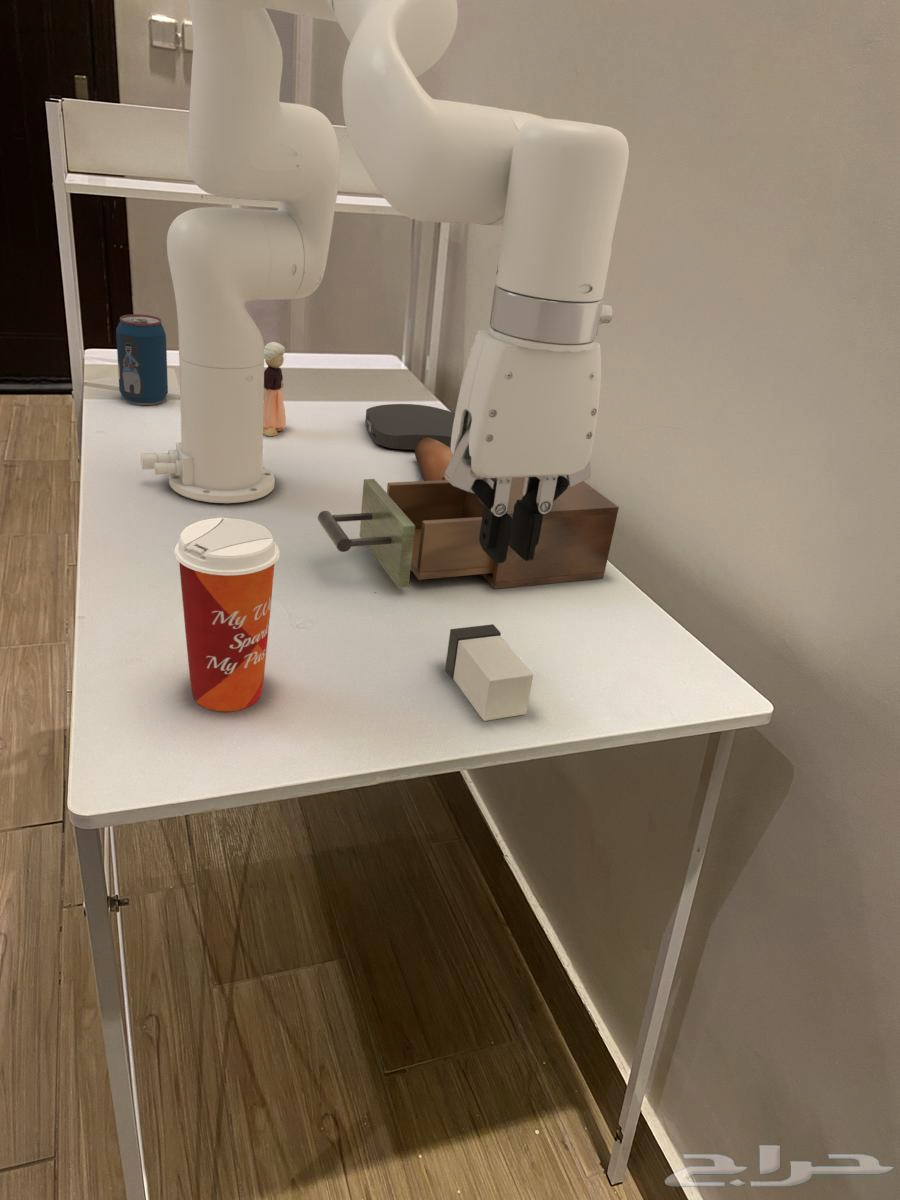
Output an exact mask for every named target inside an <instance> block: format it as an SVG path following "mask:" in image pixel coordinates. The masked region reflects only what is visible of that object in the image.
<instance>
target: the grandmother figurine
mask: <svg viewBox="0 0 900 1200" xmlns="http://www.w3.org/2000/svg"><path fill="white" fill-rule="evenodd" d="M285 353H286V348H285V346H284V345H282V344H281V343H279V342H277V341H270V342H268V343H267V344H266V345H264V363H265V364H266V365H267V367H266V368H265V369H264V402H263V436H268V437H275V436H278V432H281V431H283V430H284V428H285V427H286V426H287V421H286V409H285V403H284V395H283V390H282V389H283V388H284V376H283V371H282V368H281V366H283V364H284V360H285V358H284V355H285Z"/></svg>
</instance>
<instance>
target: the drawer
mask: <svg viewBox="0 0 900 1200" xmlns="http://www.w3.org/2000/svg"><path fill="white" fill-rule="evenodd" d="M483 508H484V505H483V504H482V503H481V502H480V501H479V499H478V498H477V497H476V496H475V495H474V494H473V493H471V492H468V491H465V490H462V489H460V488H457V487H455V486H453V485H451V484H450V483H449V482H448V481H447V480H435V481H424V480H416V481H415V480H413V481H394V482H391V481H390V482H387V488H386V491H385V490H384V488H383V487H382V486H381V485H380V484H379V483H378V481H377V480H376V479H375V478H364V479H363V484H362V500H361V509H360V510H361V512H360V513H359V512H358V513H343V514H342V513H341V514H332V513H331V512H330V511H328V510H322V511H320V512H319V513H318V515H317V521H318V523H319V524H320V525H321V527H322V529H323V530H324V531H325V533H326V534H327V536H328V538H329V539H330V540H331V542H332V543H333V545H334V546H335V548H336V549H337V550H338V551H339V552H340V553H346V552H348V551H349V550H350V549H351V548H353V547H365V546H366V547H367V548H368V550H369V551H370V553H371V554H372V555H373V556H374V557H375V559H376V560H377V562H378V563H379V564H380V566H381V567H382V568H383V570H384V571H385V572H386V574H387V576H388V577H389V578H390V579H391V580H392V582H393V583H394V584H395V586H396V587H397V588H398V589H399V588H408V587H409V586H410V580H411V579H410V577H411V572H412V573H413V574H414V576H415V577H416V578H417V580H418V581H419V580H430V579H431V580H432V579H442V578H453V577H454V578H455V577H464V576H465V577H466V576H475V575H481V574H488V573H493V572H494V565H495V562H494V561H493V560H492V559H491V557H490V556H489V555H488V554H487V553H486V552H485V551H484V550H483V549H482V547H481V545H480V541H479V536H480V529H481V522H482V515H483ZM357 521H360V525H359V538H349V536H347V533H345V531H344V530H343V529H342V527H341V525H340V524H339V523H341V522H357Z"/></svg>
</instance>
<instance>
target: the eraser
mask: <svg viewBox="0 0 900 1200" xmlns="http://www.w3.org/2000/svg"><path fill="white" fill-rule="evenodd" d="M501 634H502V633H501V631H500V630H499V629H498V628H497V627H496V626H495V625H494V623H493V624H483V625H475V626H474V625H473V626H467V627H459V628H458V627H457V628H451V629H450V630H449V635H448V636H449V637H448V645H447V651H446V660H445V667H444V670H445V671H446V673H447V674H448V675H449V677H450V678H451V679H452V680H453V681H454V682H455V684H456V685H457V686H458V688H459V689H460V690H461V692H462V693H463V695H464V696H465V698H466V699H467V700H468V701H469V703H470V704H471V706H472V707H473V708H474V710H475V711H476V712H477V714H478V715H479V717H480V719H482V721H484V722H486V721H487V722H488V721H492V720H498V719H505V718H511V717H516V716H517V717H518V716H524V715H526V714H527V711H528V705H529V701H530V695H531V690H532V684H533V680H534V673H533V672H532V671H531V670H530V668H529V667H527V665H526V664H525V663H524V662H523V661H522V660H521V658H520V657H519V656H518V655H517V654H516V652H515V651H514V650H513V649H512V648H511V647H510V646H509V644H508V643H507V642H506V641H505V639H504V638H503V637H502V636H501Z"/></svg>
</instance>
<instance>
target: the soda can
mask: <svg viewBox="0 0 900 1200" xmlns="http://www.w3.org/2000/svg"><path fill="white" fill-rule="evenodd" d="M115 335H116V337H115V338H116V354H117V355H116V356H117V372H118V386H119V387H118V389H119V393H120V394H121V397H122V398H123V399H124V401H125V402H127V403H129V404H132V405H137V406H155V405H158V404H162V403H163V402H164V401H165V399H166V397H167V396H168V394H169V386H168V385H169V383H168V354H167V353H168V352H167V351H168V350H167V331H166V329H165V327H164V325H163V324H162V319H161V318H160V317H158V316H154V315H149V314H141V313H140V314H135V313H134V314H132V313H131V314H125V315H124V314H123V315H121V316H120V317H119V322H118V324H117V327H116V329H115Z"/></svg>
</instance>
